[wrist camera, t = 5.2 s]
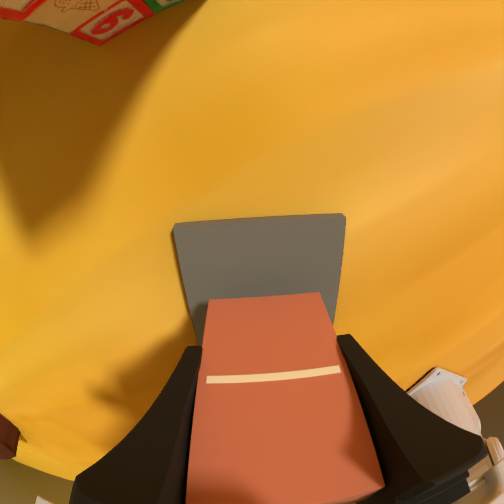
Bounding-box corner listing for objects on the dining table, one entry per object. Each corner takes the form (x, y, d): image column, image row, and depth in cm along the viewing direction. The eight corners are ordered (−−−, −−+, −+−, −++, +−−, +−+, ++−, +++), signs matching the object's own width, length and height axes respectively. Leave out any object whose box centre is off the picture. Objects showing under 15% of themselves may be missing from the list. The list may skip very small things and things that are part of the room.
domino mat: (302, 449, 26) (303, 453, 25) (233, 454, 26) (233, 458, 25) (342, 213, 13) (346, 217, 12) (175, 223, 13) (172, 228, 12)
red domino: (315, 324, 13) (363, 500, 5) (214, 332, 13) (202, 516, 5) (319, 291, 12) (385, 486, 4) (208, 298, 12) (184, 507, 4)
